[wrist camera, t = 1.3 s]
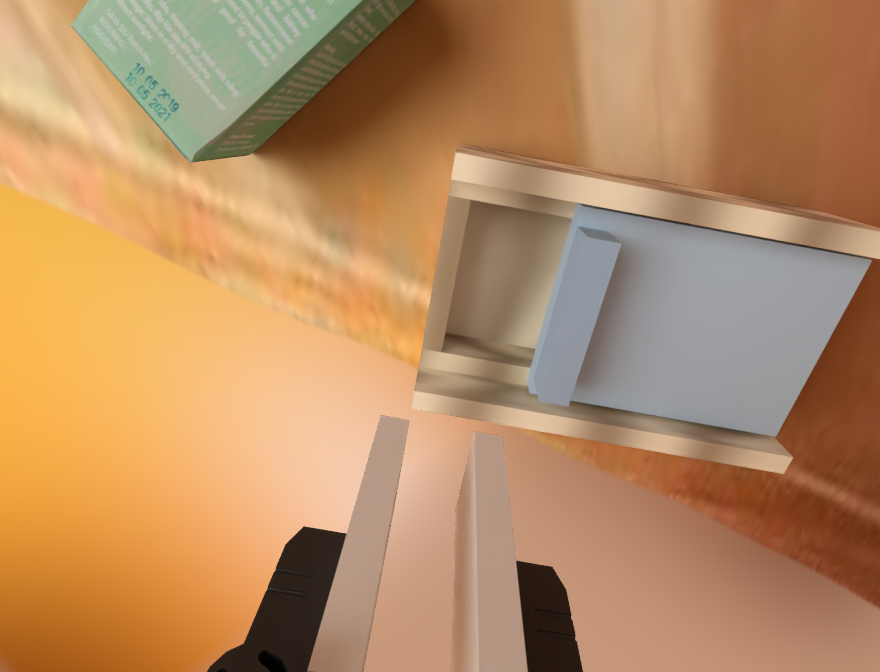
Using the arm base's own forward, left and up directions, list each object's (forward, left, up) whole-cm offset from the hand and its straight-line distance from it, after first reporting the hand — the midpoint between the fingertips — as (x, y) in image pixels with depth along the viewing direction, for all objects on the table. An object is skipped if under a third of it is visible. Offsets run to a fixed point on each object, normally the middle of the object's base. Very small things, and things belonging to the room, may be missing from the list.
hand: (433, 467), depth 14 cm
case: (0, +10, -20) cm, 23 cm away
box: (-12, -11, -21) cm, 26 cm away
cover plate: (0, +13, -16) cm, 21 cm away
